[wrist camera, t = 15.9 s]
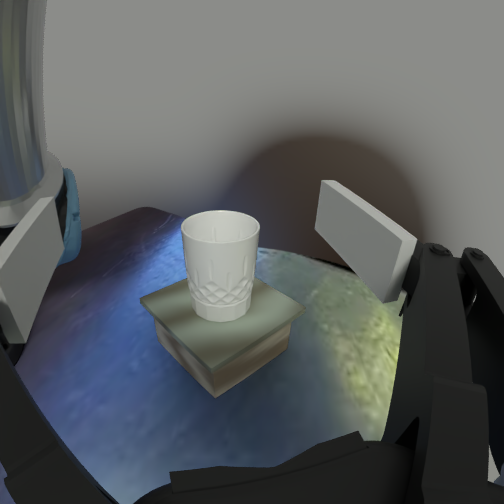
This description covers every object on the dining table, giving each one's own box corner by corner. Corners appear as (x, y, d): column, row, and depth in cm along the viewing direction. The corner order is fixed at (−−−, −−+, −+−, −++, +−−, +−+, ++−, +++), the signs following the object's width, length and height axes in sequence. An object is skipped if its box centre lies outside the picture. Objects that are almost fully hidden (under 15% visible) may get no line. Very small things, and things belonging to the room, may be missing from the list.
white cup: (177, 294, 38) (171, 217, 33) (235, 278, 42) (236, 205, 37) (203, 335, 32) (198, 249, 27) (268, 313, 36) (275, 232, 31)
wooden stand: (148, 339, 40) (139, 298, 37) (227, 300, 49) (227, 260, 46) (214, 408, 32) (211, 368, 28) (297, 348, 40) (305, 307, 37)
